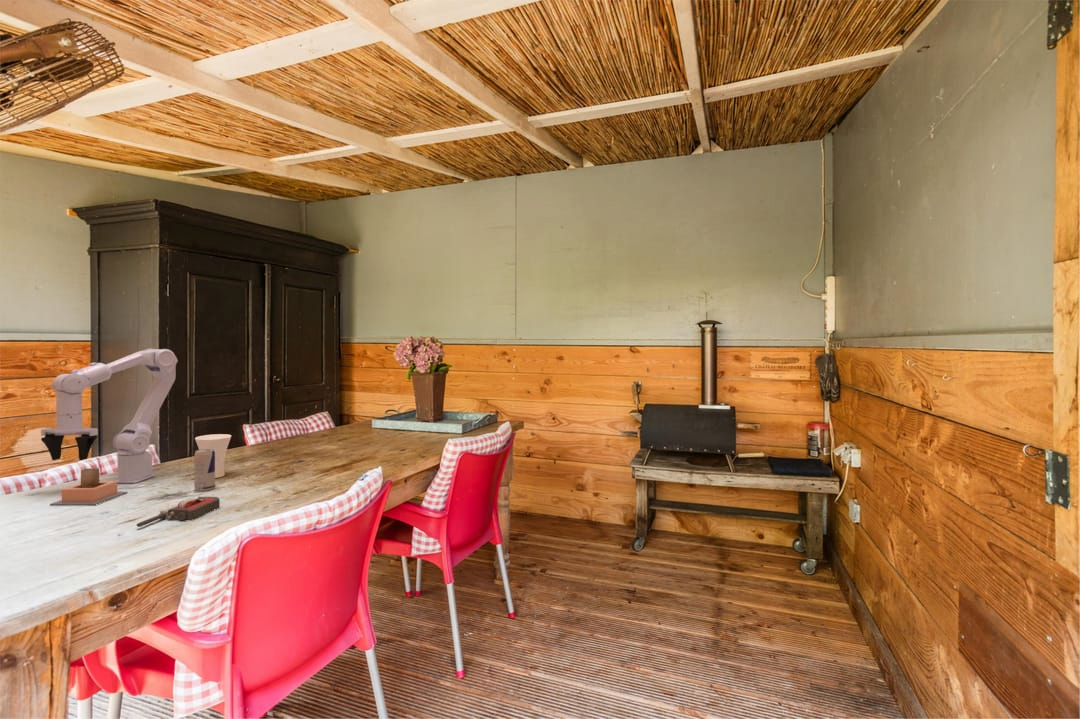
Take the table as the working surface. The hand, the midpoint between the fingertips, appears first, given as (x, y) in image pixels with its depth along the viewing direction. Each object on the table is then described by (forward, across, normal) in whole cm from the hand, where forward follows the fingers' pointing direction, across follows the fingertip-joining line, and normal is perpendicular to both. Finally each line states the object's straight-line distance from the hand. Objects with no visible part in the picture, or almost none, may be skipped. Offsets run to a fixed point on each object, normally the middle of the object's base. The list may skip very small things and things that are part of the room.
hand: (69, 459), depth 155 cm
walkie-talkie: (+10, +46, -23) cm, 53 cm away
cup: (+10, +31, +19) cm, 38 cm away
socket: (+10, +11, -7) cm, 16 cm away
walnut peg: (+9, +11, -7) cm, 16 cm away
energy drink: (+10, +37, +3) cm, 38 cm away
